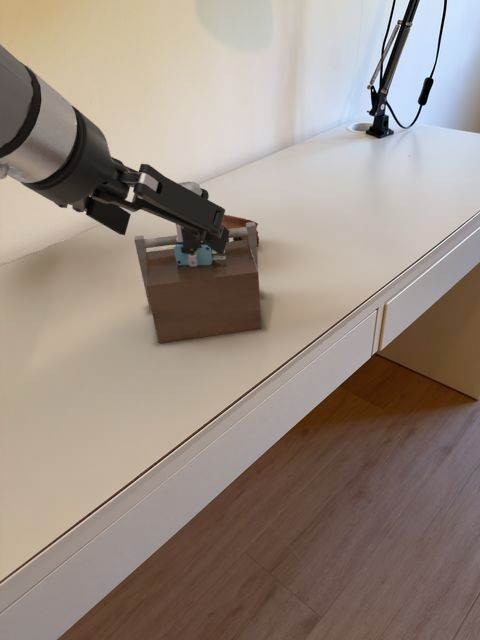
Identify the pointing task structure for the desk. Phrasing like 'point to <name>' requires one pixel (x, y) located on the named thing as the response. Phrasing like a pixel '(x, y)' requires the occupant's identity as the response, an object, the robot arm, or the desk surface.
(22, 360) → the desk surface
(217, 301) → the box
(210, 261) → the push button
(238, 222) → the pottery mug
